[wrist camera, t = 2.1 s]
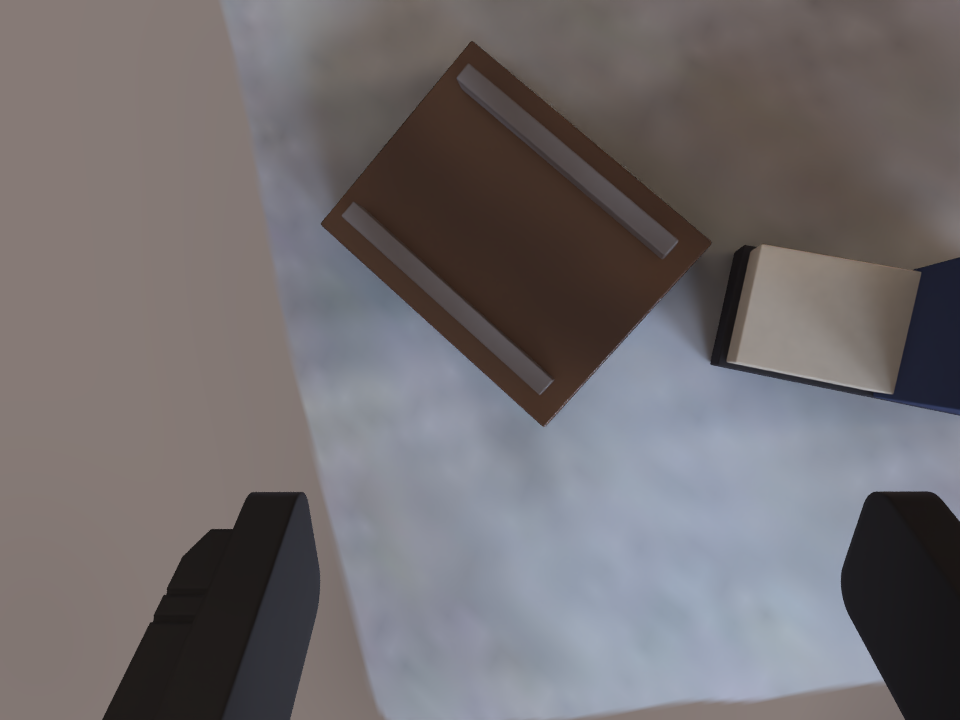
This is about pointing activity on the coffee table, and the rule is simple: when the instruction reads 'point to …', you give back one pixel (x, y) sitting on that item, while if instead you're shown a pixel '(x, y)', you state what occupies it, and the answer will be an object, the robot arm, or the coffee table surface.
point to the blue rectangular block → (844, 325)
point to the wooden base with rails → (513, 234)
